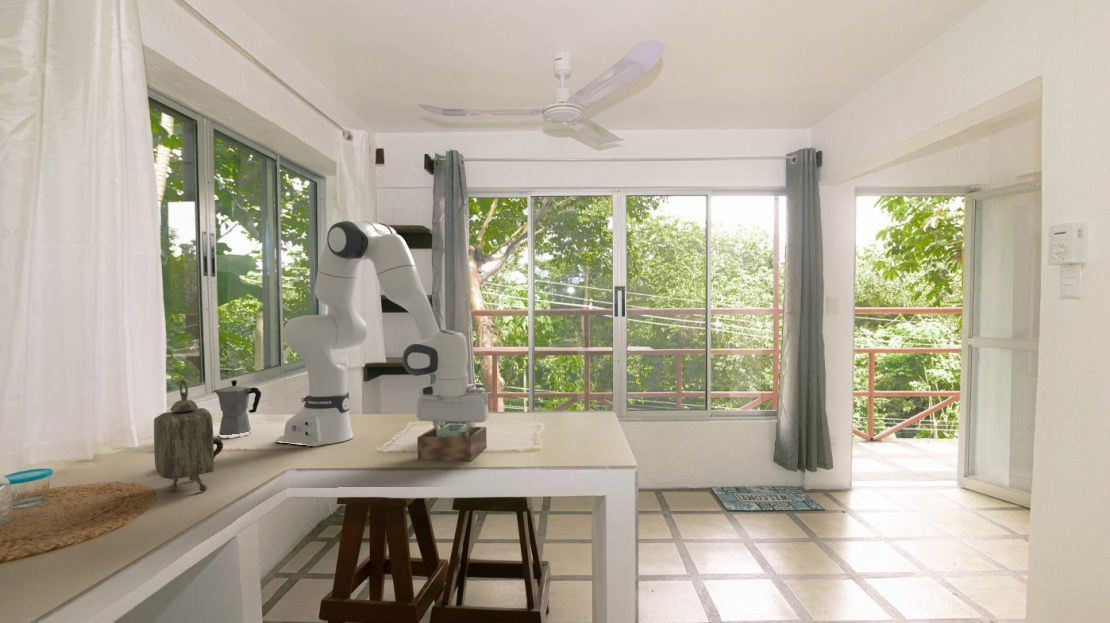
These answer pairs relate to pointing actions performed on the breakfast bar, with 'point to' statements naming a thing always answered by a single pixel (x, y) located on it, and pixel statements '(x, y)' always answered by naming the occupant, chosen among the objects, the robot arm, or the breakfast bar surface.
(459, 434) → the sage crate
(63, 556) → the breakfast bar surface
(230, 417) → the coffeepot
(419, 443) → the walnut crate
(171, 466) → the tabletop clock
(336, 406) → the robot arm
